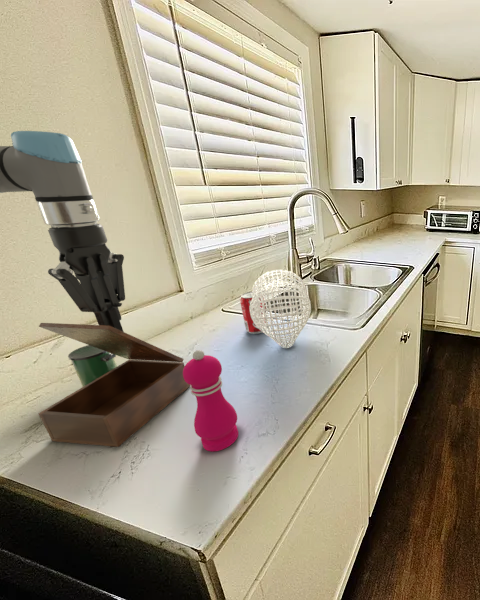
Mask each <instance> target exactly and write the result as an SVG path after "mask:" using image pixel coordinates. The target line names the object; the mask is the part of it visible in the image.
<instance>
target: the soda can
mask: <svg viewBox="0 0 480 600" xmlns="http://www.w3.org/2000/svg"><path fill="white" fill-rule="evenodd" d="M258 296H259V295H258ZM252 298H253V297H252V291H246V292H244V293H241V295H240V300H239V303H240V307H241V313H242V317H243V321H244V327H245V331H246V332H247V333H248V334H251V335H260V334H262V333H263V332H262V331H261V330H260V329H259V328H257V326H256V325H255V324H254V322H253V320H252V318H251V315H250V302H251V300H252ZM263 299H264V300H265V298H264V296H263ZM259 300H260V301H261V298H259ZM260 304H262V303H260ZM264 305H266V303H265V302H264ZM257 307H258V306H257ZM260 307H261V308H262V306H261V305H260ZM257 309H258V308H257ZM265 309H266V307H265ZM260 310H261V309H260ZM253 311H254V310H253ZM260 312H261V311H260ZM265 312H266V314H267V311H265ZM261 313H262V312H261ZM262 314H263V313H262ZM254 316H255V315H254ZM261 316H262V315H261ZM264 316H265V315H264ZM262 317H263V316H262ZM266 317H267V315H266ZM256 321H257V320H256ZM260 322H261V321H260ZM264 322H265V321H264ZM265 323H266V322H265ZM263 324H264V323H263ZM266 328H267V327H266ZM267 329H268V328H267ZM263 334H264V333H263Z"/></svg>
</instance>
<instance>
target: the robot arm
mask: <svg viewBox="0 0 480 600" xmlns="http://www.w3.org/2000/svg"><path fill="white" fill-rule="evenodd" d="M10 138H11V142H12V143H11V145H0V193H1V194H3V193H21V192H32V194H33V195H34V199H35V202H36V204H37V207H38V209H39V213H40V214H41V218H42V219H43V222H44V224H45V225H47V226H50V227H49V228H48V229H47V232H48V234H49V237H50V239H51V242H52V245H53V247H54V248H55V249H57V251H58V253H59V255H58V261H59V263H58V265H56V266H55V267H54V268H49V269H48V270H47V273H48V274H49V276H51V277H53V278H54V279H55V280H57V281H58V282H59V284H60V285H61V286H62V288H63V289H64V290H65V292H66V293H67V294H68V296H69V297H70V298H71V300H72V301H73V303H74V304H75V305H76V307H77V308H78V309H79V311H80V312H82V313H93V314H94V317H95V319H96V323H97V325H106V326H111V327H114V328H116V329H118V330H120V331H123V332H125V331H124V329H123V326H122V323H121V321H122V315H121V312H120V309H119V308H120V307H122V306H123V303H122V302H123V301H125V300H126V291H125V282H124V280H125V279H124V270H123V265H124V264H123V263H124V260H125V256H124V254H121V253H118V254H117V253H114V252H112V251H111V249H110V248H109V247H108V246H107V244H106V243H108V238H107V234H106V232H105V229H104V225H102V224H101V223H98V222H99V221H100V220H101V217H100V214H99V211H98V209H97V205H96V203H95V200H94V196H93V195H92V191H91V188H90V186H89V185H90V184H89V182H88V179H87V176H86V172H85V169H84V166H83V161H82V158H81V157H80V154H79V152H78V149H77V148H76V145H75V143H74V141H73V139H72V138H71V137H70V136H68V135H66V134H64V133H60V132H55V131H54V132H53V131H52V132H51V131H42V130H40V131H39V130H16V131H13V132H11V134H10Z"/></svg>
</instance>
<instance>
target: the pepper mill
mask: <svg viewBox="0 0 480 600" xmlns="http://www.w3.org/2000/svg"><path fill="white" fill-rule="evenodd" d="M222 368H223V367H222V364H221V362H220V360H219V359H218V358H217V357H216V356H213V355H209V354H206V355H205V352H204V351H203V350H201V349H197V350H194V351H193V353H192V358H191V359H190V360H188V362H186V364H184V369H183V378H184V380H185V382H186V383H188V384H189V385H190V387H189V389H190V391H191V392H190V393H191V394H192V395H193V396H194V397H195V398H196V404H197V407H196V412H195V416H194V422H193V426H194V432H195V434H196V435H197V436H198V437H199V438H200V442H201V445H202V447H203V449H204V450H205V451H207V452H219V451H222V450H225V449H227V448H228V447H230V446H231V445H233V444H234V443H235V442H236V440H237V439H238V437H239V430H238V426H237V422H238V414H237V411H236V409H235V408H234V406H233V405H232V404H231V403H230V402H229V401H228V400H227V399H226V398H225V396H224V394H223V392H222V386H223V381H222V377H221V374H222V371H223V369H222Z"/></svg>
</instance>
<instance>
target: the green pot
mask: <svg viewBox="0 0 480 600" xmlns="http://www.w3.org/2000/svg"><path fill="white" fill-rule="evenodd" d="M116 357H117V355H115V354H112V353H109V352H107V351H104V350H101V349H98V348H96V347H93V346H90V345H88V344H86V345H84V346H81V347H79V348H76V349H74V350H72V351H70V352H69V354H68V355H67V358H68V360H70V361H71V364H72V366H73V368H74V371H75V373H76V375H77V378H78V380H79V382H80V384H81V388H82V387H84V386H85V385H87V384H89V383H90V382H92V381H94V380H96V379H97V378H99V377H101V376H102V375H104V374H106V373H107V372H109V371H111V370H112V369H114V368H116V367H117V366H118V364H117V362H116V359H115V358H116Z"/></svg>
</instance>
